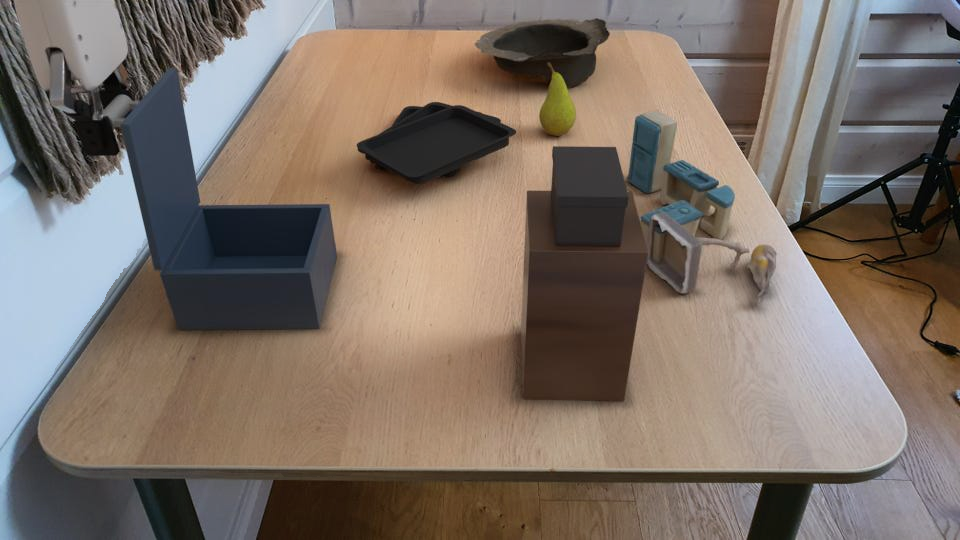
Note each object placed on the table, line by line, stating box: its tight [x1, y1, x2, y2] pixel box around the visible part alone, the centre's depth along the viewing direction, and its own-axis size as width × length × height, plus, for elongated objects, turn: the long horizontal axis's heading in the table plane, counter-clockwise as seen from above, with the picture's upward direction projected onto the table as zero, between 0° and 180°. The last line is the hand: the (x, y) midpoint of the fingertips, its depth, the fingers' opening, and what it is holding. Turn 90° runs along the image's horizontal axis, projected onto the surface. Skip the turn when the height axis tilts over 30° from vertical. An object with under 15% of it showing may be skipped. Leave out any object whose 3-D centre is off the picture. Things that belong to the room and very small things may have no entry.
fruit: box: [538, 62, 577, 137], centre depth 116 cm, size 6×6×12 cm
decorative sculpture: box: [647, 212, 777, 307], centre depth 85 cm, size 16×10×7 cm, turn 91°
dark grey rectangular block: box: [550, 145, 629, 247], centre depth 64 cm, size 9×6×5 cm, turn 178°
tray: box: [356, 101, 517, 186], centre depth 111 cm, size 30×23×5 cm
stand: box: [520, 189, 648, 402], centre depth 71 cm, size 10×10×18 cm
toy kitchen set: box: [627, 109, 736, 262], centre depth 96 cm, size 18×14×11 cm
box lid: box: [102, 67, 201, 271], centre depth 77 cm, size 16×14×5 cm
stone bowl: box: [474, 17, 611, 90], centre depth 137 cm, size 25×25×9 cm
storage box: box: [159, 203, 338, 331], centre depth 84 cm, size 16×14×8 cm
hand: (114, 138), depth 75 cm, fingers closed on box lid, 5 cm apart
